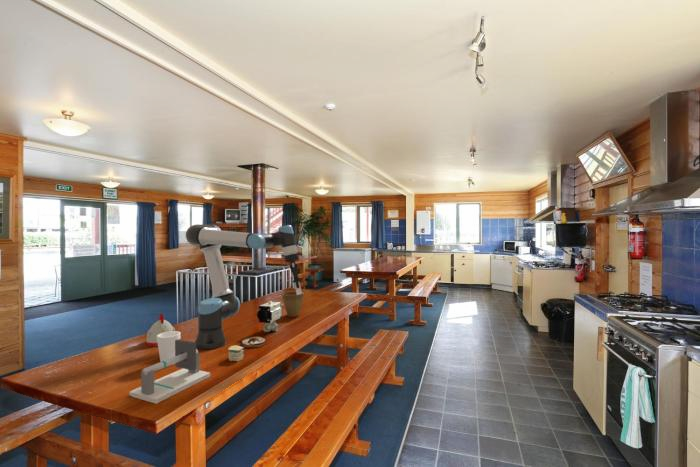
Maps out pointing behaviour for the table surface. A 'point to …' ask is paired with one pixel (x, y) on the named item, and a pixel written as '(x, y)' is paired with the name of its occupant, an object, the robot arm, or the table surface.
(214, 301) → the robot arm
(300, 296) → the plant pot
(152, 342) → the kitchen timer
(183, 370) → the pipe rig
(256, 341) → the white shallow bowl
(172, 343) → the foam cup
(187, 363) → the collar
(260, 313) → the ball valve
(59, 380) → the table surface
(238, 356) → the beige layered block
